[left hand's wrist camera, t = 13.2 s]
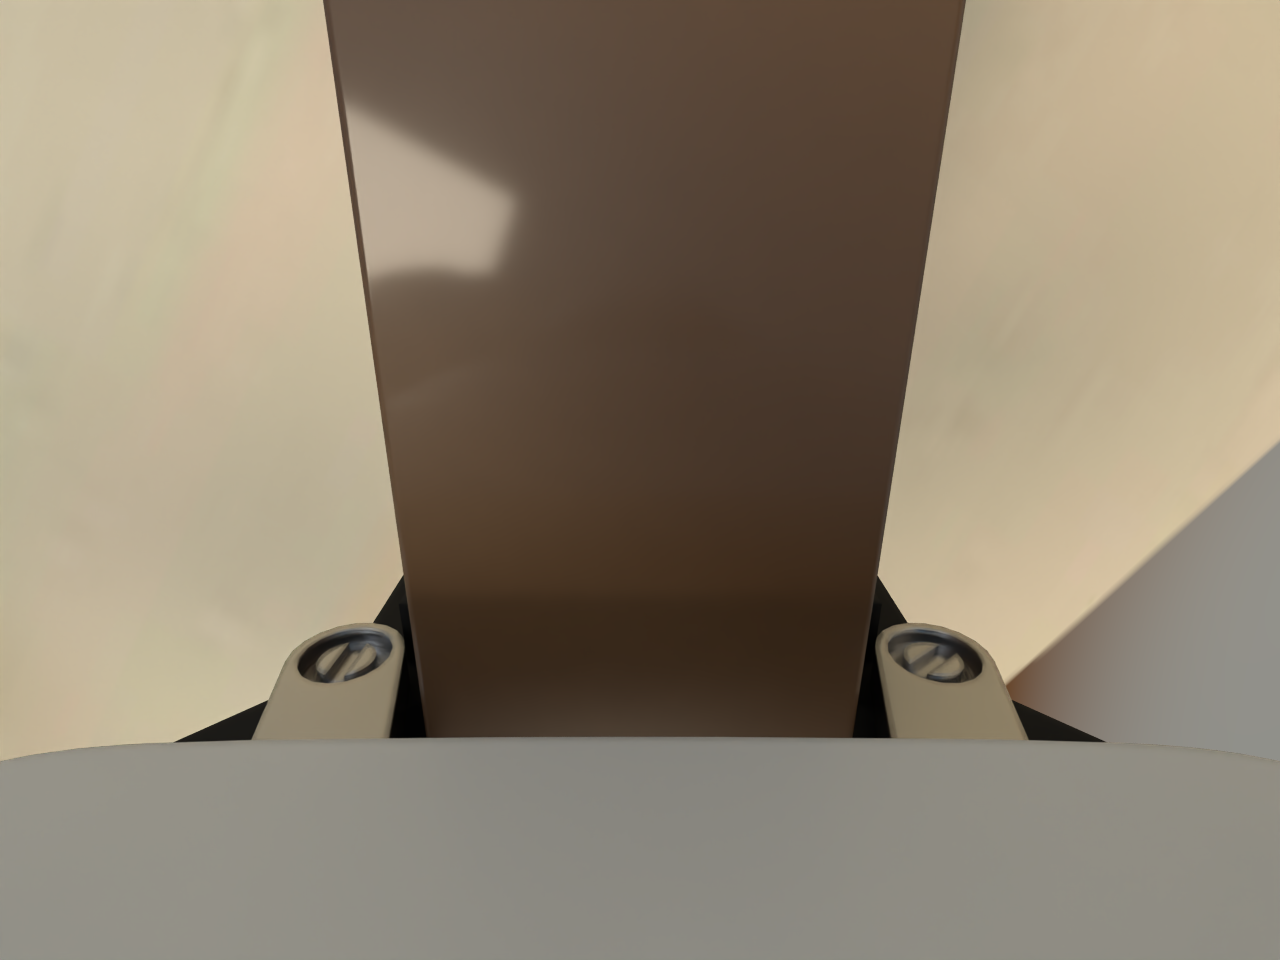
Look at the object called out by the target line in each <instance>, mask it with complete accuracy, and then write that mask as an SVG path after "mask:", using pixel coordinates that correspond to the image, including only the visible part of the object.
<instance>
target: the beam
mask: <svg viewBox="0 0 1280 960" xmlns="http://www.w3.org/2000/svg"><path fill="white" fill-rule="evenodd" d="M965 2H966V0H323V3H324V10H325V17H326V24H327V31H328V39H329V46H330V53H331V60H332V67H333V74H334V81H335V89H336V96H337V103H338V110H339V117H340V124H341V131H342V138H343V146H344V153H345V160H346V167H347V174H348V181H349V188H350V196H351V203H352V210H353V217H354V224H355V231H356V238H357V245H358V253H359V260H360V267H361V274H362V281H363V288H364V295H365V303H366V310H367V317H368V324H369V331H370V338H371V345H372V352H373V360H374V367H375V374H376V381H377V388H378V395H379V402H380V409H381V417H382V424H383V431H384V438H385V445H386V452H387V459H388V467H389V474H390V481H391V488H392V495H393V502H394V509H395V516H396V524H397V531H398V538H399V545H400V552H401V559H402V566H403V574H404V581H405V588H406V595H407V602H408V609H409V616H410V623H411V631H412V638H413V645H414V652H415V659H416V666H417V673H418V680H419V688H420V695H421V702H422V709H423V716H424V723H425V730H426V738H471V737H785V738H852V737H853V730H854V724H855V717H856V711H857V704H858V698H859V691H860V685H861V678H862V672H863V665H864V659H865V652H866V646H867V639H868V633H869V626H870V620H871V613H872V607H873V600H874V594H875V587H876V581H877V574H878V568H879V561H880V555H881V548H882V542H883V535H884V529H885V522H886V516H887V509H888V503H889V496H890V490H891V483H892V477H893V470H894V464H895V457H896V451H897V444H898V438H899V431H900V425H901V418H902V412H903V405H904V399H905V392H906V386H907V379H908V373H909V366H910V360H911V353H912V347H913V340H914V334H915V327H916V321H917V314H918V308H919V301H920V295H921V288H922V282H923V275H924V269H925V262H926V256H927V249H928V243H929V236H930V230H931V223H932V217H933V210H934V204H935V197H936V191H937V184H938V178H939V171H940V165H941V158H942V152H943V145H944V139H945V132H946V126H947V119H948V113H949V106H950V100H951V93H952V87H953V80H954V74H955V67H956V61H957V54H958V48H959V41H960V35H961V28H962V22H963V15H964V9H965Z"/></svg>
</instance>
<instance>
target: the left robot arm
mask: <svg viewBox="0 0 1280 960" xmlns="http://www.w3.org/2000/svg"><path fill="white" fill-rule="evenodd" d="M0 960H1280V761H1276V760H1271V759H1266V758H1261V757H1255V756H1250V755H1245V754H1239V753H1232V752H1225V751H1217V750H1209V749H1200V748H1192V747H1179V746H1166V745H1153V744H1133V743H1108V742H1105V741H1103V740H1100V739H1098V738H1096V737H1094V736H1091V735H1089V734H1087V733H1085V732H1082V731H1080V730H1078V729H1076V728H1073V727H1071V726H1069V725H1067V724H1065V723H1062V722H1060V721H1058V720H1056V719H1053V718H1051V717H1049V716H1047V715H1044V714H1042V713H1040V712H1038V711H1035V710H1033V709H1031V708H1029V707H1026V706H1024V705H1022V704H1020V703H1017V702H1015V701H1013V700H1011V698H1010V696H1009V693H1008V691H1007V689H1006V686H1005V684H1004V682H1003V679H1002V677H1001V675H1000V672H999V670H998V668H997V666H996V663H995V661H994V660H993V658H992V657H991V655H990V654H989V653H988V651H987V650H986V649H984V648H983V647H982V646H981V645H979V644H978V643H977V642H976V641H974V640H972V639H970V638H969V637H967V636H965V635H963V634H961V633H959V632H956V631H953V630H950V629H947V628H944V627H941V626H936V625H930V624H925V623H907V621H906V620H905V618H904V617H903V615H902V614H901V612H900V610H899V609H898V607H897V606H896V604H895V602H894V601H893V599H892V598H891V596H890V595H889V593H888V591H887V590H886V588H885V587H884V585H883V584H882V582H881V580H880V579H879V577H878V576H877V581H876V587H875V594H874V600H873V607H872V613H871V620H870V626H869V633H868V639H867V646H866V652H865V659H864V665H863V672H862V678H861V685H860V691H859V698H858V704H857V711H856V717H855V724H854V730H853V737H852V738H785V737H471V738H426V730H425V723H424V716H423V709H422V702H421V695H420V688H419V680H418V673H417V666H416V659H415V652H414V645H413V638H412V631H411V623H410V616H409V609H408V602H407V595H406V588H405V581H404V575H403V576H402V578H401V580H400V581H399V583H398V584H397V586H396V588H395V589H394V591H393V592H392V594H391V595H390V597H389V599H388V600H387V602H386V603H385V605H384V606H383V608H382V610H381V611H380V613H379V614H378V616H377V617H376V619H375V621H374V622H373V623H355V624H350V625H344V626H339V627H336V628H333V629H330V630H327V631H324V632H321V633H319V634H317V635H315V636H313V637H311V638H310V639H308V640H306V641H304V642H303V643H302V644H301V645H299V646H298V647H297V648H296V649H294V650H293V651H292V653H291V654H290V655H289V657H288V658H287V660H286V661H285V663H284V666H283V668H282V670H281V672H280V675H279V677H278V679H277V682H276V684H275V686H274V689H273V691H272V693H271V696H270V698H269V700H267V701H265V702H263V703H261V704H258V705H256V706H254V707H252V708H249V709H247V710H245V711H243V712H241V713H238V714H236V715H234V716H232V717H229V718H227V719H225V720H223V721H220V722H218V723H216V724H214V725H211V726H209V727H207V728H205V729H202V730H200V731H198V732H196V733H193V734H191V735H189V736H187V737H185V738H182V739H180V740H178V741H176V742H173V743H146V744H127V745H114V746H102V747H90V748H78V749H71V750H63V751H56V752H49V753H42V754H35V755H29V756H24V757H19V758H14V759H9V760H4V761H0Z"/></svg>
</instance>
